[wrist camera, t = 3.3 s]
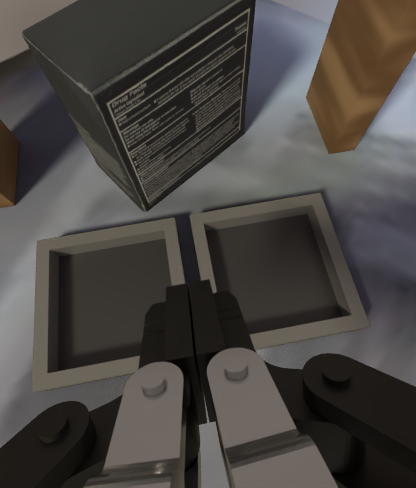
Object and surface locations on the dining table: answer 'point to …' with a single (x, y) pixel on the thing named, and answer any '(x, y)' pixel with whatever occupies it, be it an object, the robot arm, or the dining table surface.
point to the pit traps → (172, 273)
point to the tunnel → (323, 77)
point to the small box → (150, 83)
